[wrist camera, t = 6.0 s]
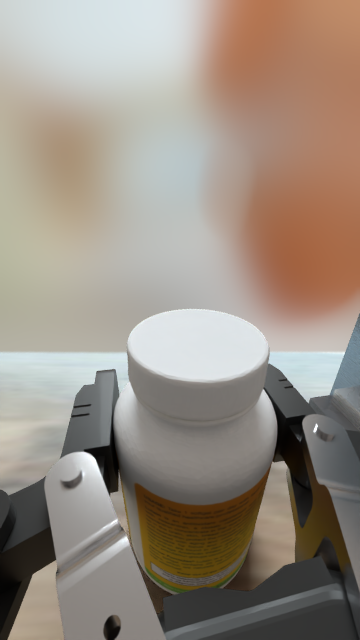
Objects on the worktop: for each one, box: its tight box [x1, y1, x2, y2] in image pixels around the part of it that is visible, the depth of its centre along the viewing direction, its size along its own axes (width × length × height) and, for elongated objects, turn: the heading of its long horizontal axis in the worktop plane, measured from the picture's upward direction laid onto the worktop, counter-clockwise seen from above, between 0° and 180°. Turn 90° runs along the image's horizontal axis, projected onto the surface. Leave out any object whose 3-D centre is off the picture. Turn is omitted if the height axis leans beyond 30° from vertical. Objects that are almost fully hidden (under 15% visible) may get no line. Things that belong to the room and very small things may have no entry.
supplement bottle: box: [113, 309, 277, 595], centre depth 9 cm, size 5×5×10 cm
